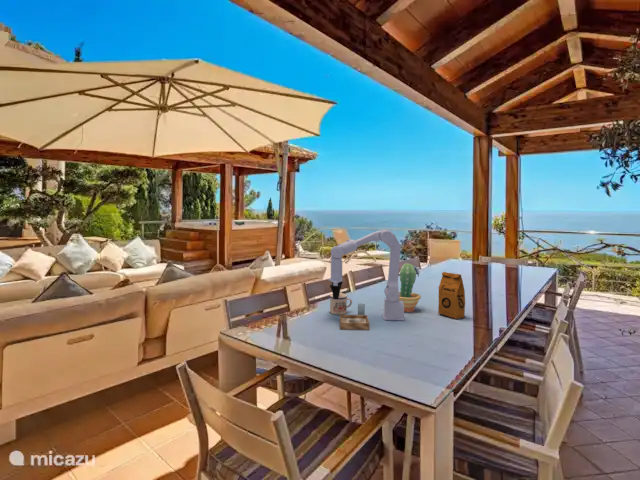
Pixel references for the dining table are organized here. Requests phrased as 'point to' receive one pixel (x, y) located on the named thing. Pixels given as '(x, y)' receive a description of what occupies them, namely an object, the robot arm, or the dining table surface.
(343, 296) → the beige mug
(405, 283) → the potted cactus
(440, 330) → the dining table surface
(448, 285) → the coffee package
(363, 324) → the tray box
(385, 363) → the dining table surface
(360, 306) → the peg
